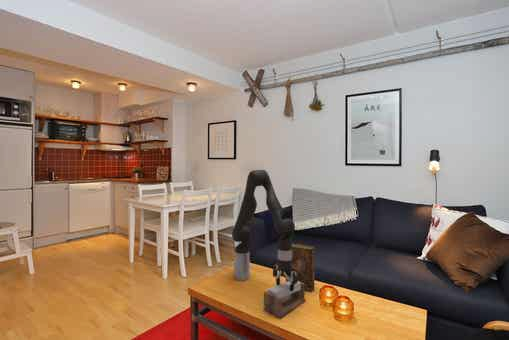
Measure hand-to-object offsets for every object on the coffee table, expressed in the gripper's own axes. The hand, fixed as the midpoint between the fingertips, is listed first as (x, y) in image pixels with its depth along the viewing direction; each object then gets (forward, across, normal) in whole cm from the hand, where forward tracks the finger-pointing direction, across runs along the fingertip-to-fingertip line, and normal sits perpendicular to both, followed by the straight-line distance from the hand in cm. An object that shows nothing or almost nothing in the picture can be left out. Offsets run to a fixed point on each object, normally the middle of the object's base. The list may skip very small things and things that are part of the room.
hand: (284, 288), depth 139 cm
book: (+10, -5, +22) cm, 25 cm away
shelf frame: (+9, 0, 0) cm, 9 cm away
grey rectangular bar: (+3, 0, 0) cm, 3 cm away
